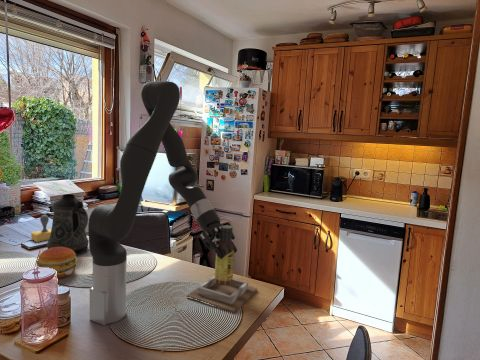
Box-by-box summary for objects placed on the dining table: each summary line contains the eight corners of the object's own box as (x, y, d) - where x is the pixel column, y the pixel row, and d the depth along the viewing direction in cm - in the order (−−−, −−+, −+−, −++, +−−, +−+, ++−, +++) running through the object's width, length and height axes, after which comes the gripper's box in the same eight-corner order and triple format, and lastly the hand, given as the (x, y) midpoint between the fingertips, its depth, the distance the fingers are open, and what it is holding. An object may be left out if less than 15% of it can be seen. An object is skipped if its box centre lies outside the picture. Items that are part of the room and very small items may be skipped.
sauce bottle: (230, 287, 112) (233, 230, 109) (212, 284, 113) (214, 228, 110) (234, 279, 118) (237, 225, 115) (217, 276, 120) (220, 223, 117)
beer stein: (60, 242, 157) (60, 190, 154) (101, 245, 157) (101, 193, 153) (38, 255, 141) (37, 197, 137) (83, 258, 140) (83, 200, 137)
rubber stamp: (37, 242, 156) (36, 217, 154) (31, 239, 159) (30, 215, 157) (58, 237, 164) (58, 214, 162) (52, 235, 167) (51, 212, 165)
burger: (85, 271, 128) (85, 246, 127) (53, 285, 116) (53, 257, 114) (59, 264, 133) (59, 240, 132) (26, 277, 121) (26, 250, 119)
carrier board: (234, 313, 104) (234, 302, 104) (186, 298, 112) (187, 288, 112) (256, 290, 120) (257, 281, 120) (214, 278, 128) (214, 270, 128)
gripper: (196, 211, 111) (222, 255, 106) (224, 205, 122) (248, 244, 117) (184, 223, 115) (209, 266, 110) (212, 216, 126) (235, 255, 121)
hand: (229, 254), depth 113 cm, fingers closed on sauce bottle, 6 cm apart
